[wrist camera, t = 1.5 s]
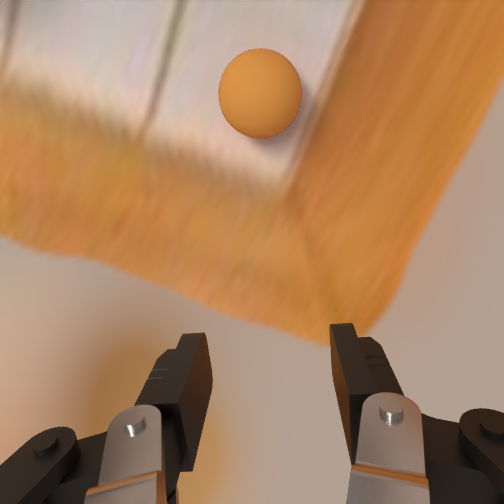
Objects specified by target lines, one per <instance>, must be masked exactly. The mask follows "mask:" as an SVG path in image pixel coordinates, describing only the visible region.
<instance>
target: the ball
mask: <svg viewBox="0 0 504 504" xmlns="http://www.w3.org/2000/svg"><path fill="white" fill-rule="evenodd" d="M301 97H302V89H301V83H300V79H299V76H298V73H297V71H296V70H295V68H294V66H293V65H292V64H291V62H290V61H289V60H288V59H287V58H285V57H284V56H283V55H281V54H279V53H278V52H275V51H273V50H269V49H262V48H260V49H252V50H248V51H245V52H243V53H241V54H240V55H238V56H237V57H235V58H234V59H233V60H232V61H231V62H230V63H229V65H228V66H227V67H226V69H225V71H224V72H223V75H222V77H221V80H220V84H219V103H220V107H221V110H222V113H223V115H224V117H225V118H226V120H227V121H228V123H229V124H230V125H231V126H232V127H233V128H234V129H235V130H237V131H238V132H240V133H242V134H243V135H246V136H249V137H253V138H266V137H271V136H274V135H276V134H278V133H280V132H282V131H283V130H284V129H286V128H287V127H288V126H289V125H290V124H291V122H292V121H293V120H294V118H295V116H296V115H297V113H298V110H299V107H300V103H301Z"/></svg>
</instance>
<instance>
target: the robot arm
mask: <svg viewBox="0 0 504 504" xmlns="http://www.w3.org/2000/svg"><path fill="white" fill-rule="evenodd" d="M330 345H331V363H332V375H333V382H334V386H335V391H336V396H337V400H338V405H339V409H340V414H341V419H342V424H343V428H344V432H345V438H346V442H347V447H348V451H349V456H350V461H351V465H352V467H351V473H350V480H349V487H348V495H347V502H346V504H504V413H502V412H499V411H496V410H491V409H481V408H480V409H472V410H469V411H467V412H465V413H464V414H463V415H462V416H461V418H460V422H459V423H457V422H452V421H446V420H441V419H436V418H433V417H430V416H427V415H425V414H422V413H421V411H420V409H419V407H418V406H417V405H416V404H415V403H414V402H413V401H412V400H410V399H409V398H407V397H405V396H404V394H403V392H402V390H401V387H400V386H399V383H398V381H397V379H396V377H395V374H394V372H393V370H392V368H391V366H390V363H389V361H388V359H387V358H386V355H385V353H384V351H383V349H382V346H381V345H380V344H379V343H378V342H376V341H375V340H374V339H373V338H371V337H360V338H358V337H357V334H356V331H355V328H354V326H353V324H352V323H343V324H330ZM212 382H213V378H212V368H211V362H210V356H209V350H208V344H207V339H206V335H205V333H190V334H182V336H181V338H180V341H179V343H178V345H177V347H176V349H168V350H167V351H166V352H164V353H163V354H162V355H161V356H160V357H159V358H158V359H157V361H156V363H155V365H154V367H153V370H152V371H151V373H150V375H149V377H148V380H147V381H146V383H145V385H144V387H143V389H142V391H141V393H140V395H139V397H138V399H137V401H136V403H135V405H134V406H133V407H130V408H128V409H126V410H124V411H122V412H121V413H119V414H118V415H117V416H115V418H114V419H113V420H112V421H111V422H110V424H109V426H108V430H107V431H106V432H104V433H101V434H97V435H94V436H90V437H87V438H83V439H80V440H77V438H76V435H75V432H74V431H73V430H72V429H71V428H68V427H55V428H51V429H48V430H45V431H43V432H41V433H39V434H37V435H36V436H34V437H32V438H31V439H30V440H29V441H27V442H26V443H25V444H24V445H23V446H22V447H20V448H19V449H18V450H17V451H16V452H15V453H14V454H12V456H10V457H9V458H8V459H7V460H6V461H5V462H3V463H2V465H0V504H179V494H178V488H177V481H178V478H179V474H180V472H185V471H186V472H189V471H193V467H194V463H195V459H196V455H197V450H198V446H199V442H200V438H201V434H202V429H203V425H204V421H205V417H206V412H207V408H208V404H209V400H210V395H211V391H212Z"/></svg>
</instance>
